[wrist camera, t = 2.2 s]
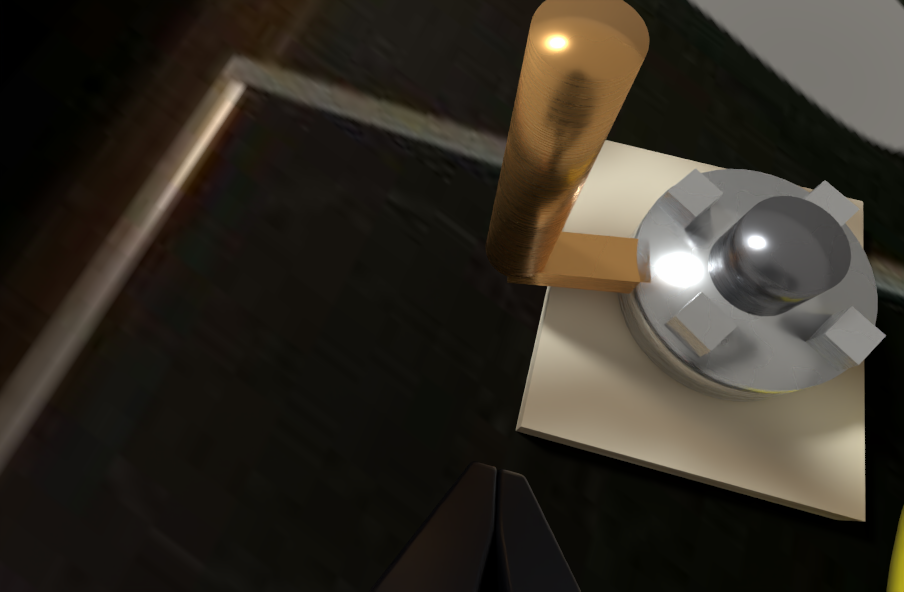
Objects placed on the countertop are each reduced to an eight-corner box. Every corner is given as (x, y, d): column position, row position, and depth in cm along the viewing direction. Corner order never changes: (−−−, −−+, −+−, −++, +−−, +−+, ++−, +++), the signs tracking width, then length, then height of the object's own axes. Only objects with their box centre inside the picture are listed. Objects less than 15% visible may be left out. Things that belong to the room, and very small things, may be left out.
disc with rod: (814, 209, 24) (1173, -62, 12) (849, 412, 21) (1377, 305, 9) (487, 179, 24) (537, -120, 12) (472, 376, 21) (520, 225, 9)
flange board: (836, 519, 21) (865, 521, 20) (515, 430, 22) (521, 426, 20) (839, 217, 26) (863, 201, 24) (576, 154, 27) (584, 135, 25)
